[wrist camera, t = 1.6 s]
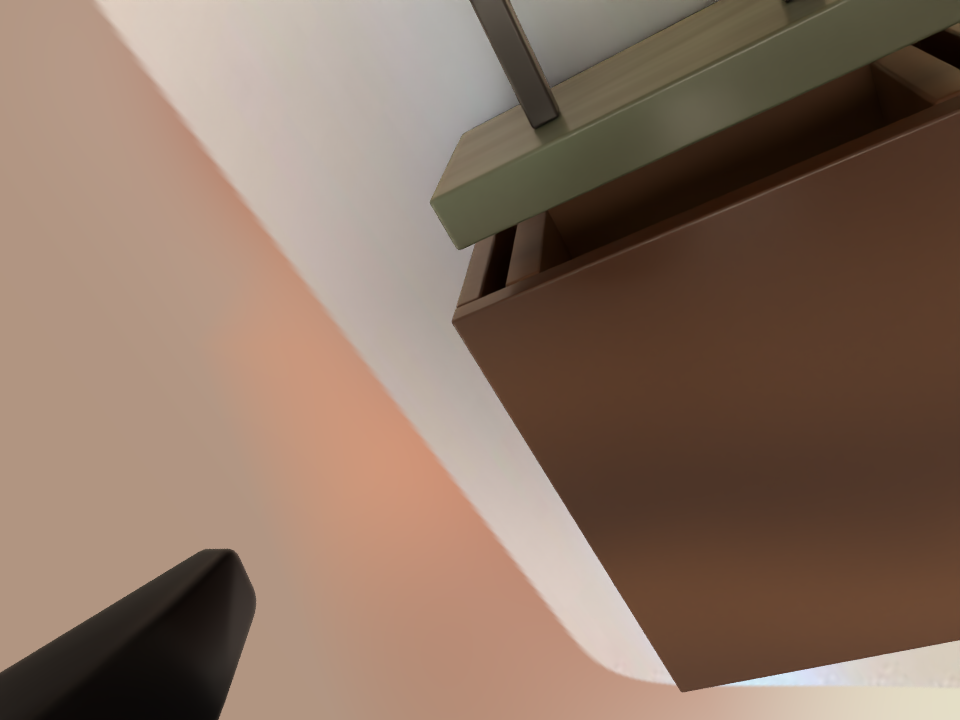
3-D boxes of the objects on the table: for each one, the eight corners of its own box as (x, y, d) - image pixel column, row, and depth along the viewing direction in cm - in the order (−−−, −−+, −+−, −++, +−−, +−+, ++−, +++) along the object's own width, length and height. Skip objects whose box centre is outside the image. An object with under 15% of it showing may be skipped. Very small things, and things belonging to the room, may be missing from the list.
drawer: (357, -59, 16) (286, -40, 12) (830, -372, 13) (936, -483, 9) (646, 480, 23) (658, 596, 20) (995, 375, 20) (1092, 492, 16)
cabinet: (485, 208, 20) (449, 322, 15) (931, -3, 16) (1095, 52, 11) (661, 530, 26) (680, 693, 21) (1022, 432, 22) (1158, 603, 17)
